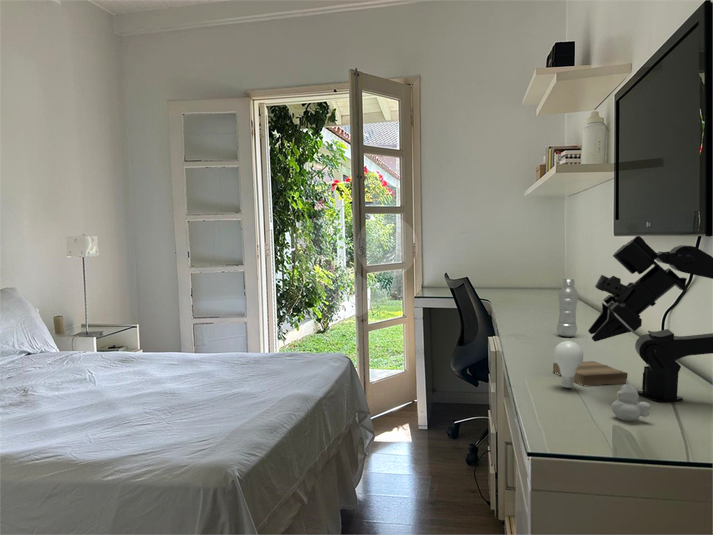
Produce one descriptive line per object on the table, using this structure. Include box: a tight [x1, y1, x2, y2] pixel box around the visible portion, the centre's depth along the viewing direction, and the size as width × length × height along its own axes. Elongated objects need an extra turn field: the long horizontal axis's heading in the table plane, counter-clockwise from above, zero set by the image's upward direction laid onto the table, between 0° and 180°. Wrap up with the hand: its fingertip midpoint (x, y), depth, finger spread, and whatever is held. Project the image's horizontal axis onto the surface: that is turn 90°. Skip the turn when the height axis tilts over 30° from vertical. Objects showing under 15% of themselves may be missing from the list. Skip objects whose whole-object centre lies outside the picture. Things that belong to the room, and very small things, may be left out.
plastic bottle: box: [556, 278, 579, 338], centre depth 185 cm, size 6×7×20 cm
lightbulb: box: [553, 340, 585, 389], centre depth 122 cm, size 6×6×11 cm
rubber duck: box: [611, 378, 651, 422], centre depth 102 cm, size 5×7×8 cm
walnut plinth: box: [552, 360, 628, 386], centre depth 132 cm, size 12×12×2 cm
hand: (591, 336), depth 120 cm, fingers open, 9 cm apart
